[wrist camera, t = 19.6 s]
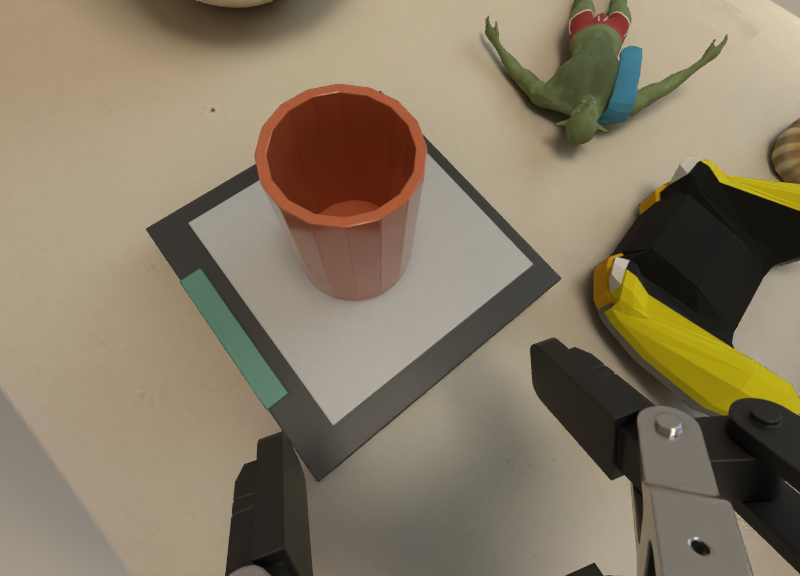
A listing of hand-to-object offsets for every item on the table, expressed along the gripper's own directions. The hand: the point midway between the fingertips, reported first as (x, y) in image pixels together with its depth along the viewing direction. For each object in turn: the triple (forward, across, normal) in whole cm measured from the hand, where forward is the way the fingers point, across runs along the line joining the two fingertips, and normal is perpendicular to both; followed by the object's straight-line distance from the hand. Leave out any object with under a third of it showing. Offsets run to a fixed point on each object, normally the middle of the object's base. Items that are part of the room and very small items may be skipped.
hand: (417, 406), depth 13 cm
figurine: (+20, -21, -7) cm, 30 cm away
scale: (+13, 0, +1) cm, 13 cm away
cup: (+11, 0, -2) cm, 11 cm away
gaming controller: (+8, -19, +6) cm, 21 cm away
